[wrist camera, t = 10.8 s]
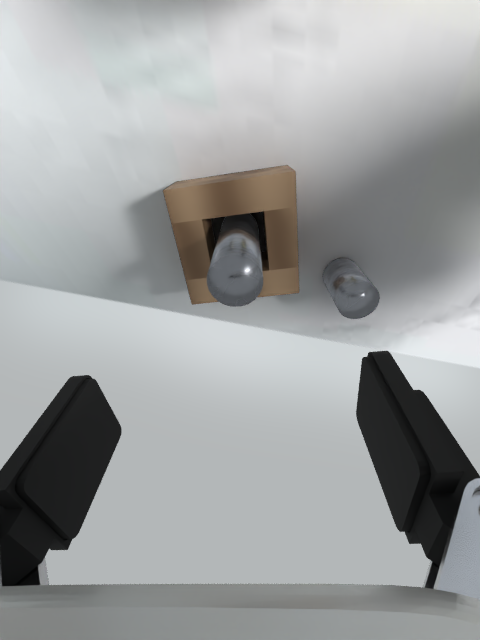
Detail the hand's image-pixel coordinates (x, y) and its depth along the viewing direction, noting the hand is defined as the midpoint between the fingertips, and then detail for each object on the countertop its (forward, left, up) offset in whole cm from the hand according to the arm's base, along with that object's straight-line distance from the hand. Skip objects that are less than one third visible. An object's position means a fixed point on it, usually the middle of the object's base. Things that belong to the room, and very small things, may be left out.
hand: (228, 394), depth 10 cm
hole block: (0, 0, -22) cm, 22 cm away
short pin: (-10, +6, -22) cm, 24 cm away
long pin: (0, 0, -22) cm, 22 cm away
